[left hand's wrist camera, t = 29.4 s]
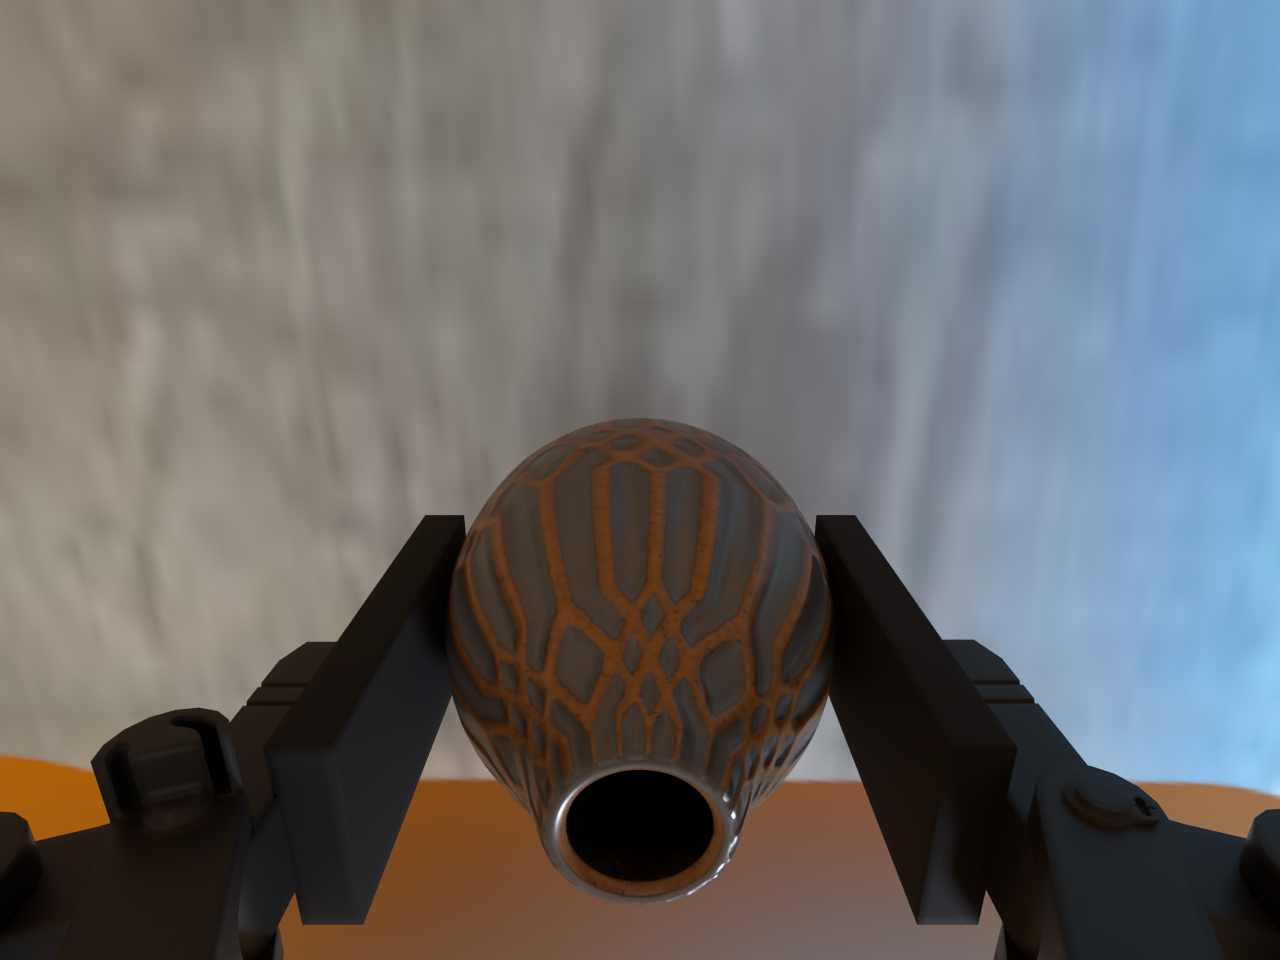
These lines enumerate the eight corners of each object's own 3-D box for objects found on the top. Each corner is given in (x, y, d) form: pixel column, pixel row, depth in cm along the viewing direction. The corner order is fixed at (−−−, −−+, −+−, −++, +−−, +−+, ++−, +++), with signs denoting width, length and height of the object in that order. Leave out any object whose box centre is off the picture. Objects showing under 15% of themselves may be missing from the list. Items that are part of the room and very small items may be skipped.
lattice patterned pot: (480, 383, 16) (301, 576, 7) (800, 384, 16) (977, 577, 7) (501, 656, 18) (384, 1030, 10) (779, 657, 18) (893, 1031, 10)
